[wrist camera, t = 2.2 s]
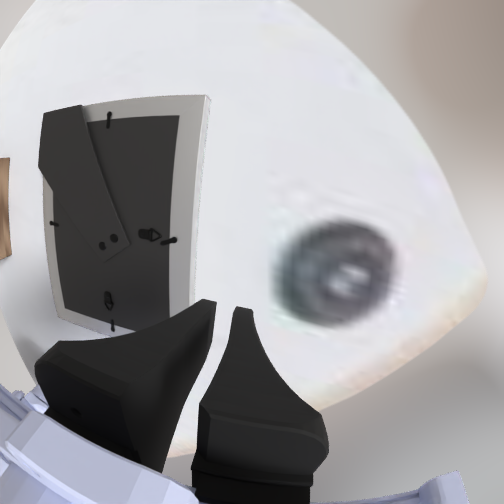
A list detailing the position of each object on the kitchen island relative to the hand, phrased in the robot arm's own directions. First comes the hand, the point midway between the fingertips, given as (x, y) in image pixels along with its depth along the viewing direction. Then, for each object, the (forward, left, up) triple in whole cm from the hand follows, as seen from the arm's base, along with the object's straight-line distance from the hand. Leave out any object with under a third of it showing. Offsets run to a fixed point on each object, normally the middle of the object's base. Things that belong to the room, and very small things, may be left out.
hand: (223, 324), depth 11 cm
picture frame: (0, +12, -10) cm, 16 cm away
